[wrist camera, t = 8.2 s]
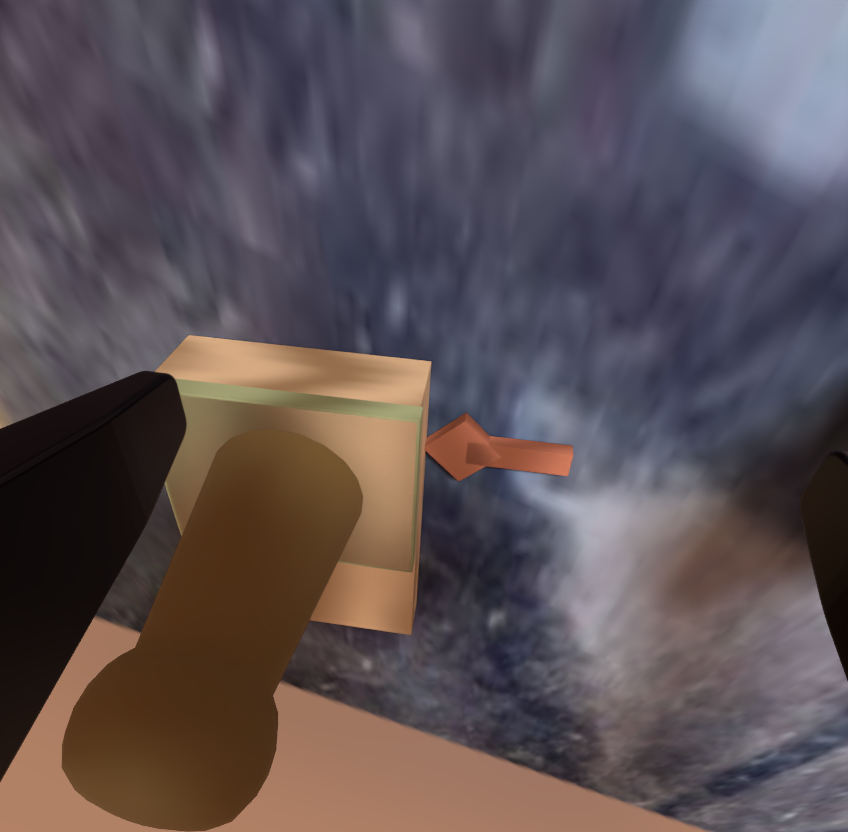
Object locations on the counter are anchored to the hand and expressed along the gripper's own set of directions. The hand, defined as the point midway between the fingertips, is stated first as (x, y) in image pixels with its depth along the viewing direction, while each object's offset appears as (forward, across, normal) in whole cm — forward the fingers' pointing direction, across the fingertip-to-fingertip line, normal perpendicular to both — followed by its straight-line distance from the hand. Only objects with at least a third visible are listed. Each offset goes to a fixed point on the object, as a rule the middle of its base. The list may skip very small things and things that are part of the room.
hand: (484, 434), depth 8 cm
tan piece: (+13, +4, +15) cm, 20 cm away
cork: (+9, +7, +11) cm, 16 cm away
